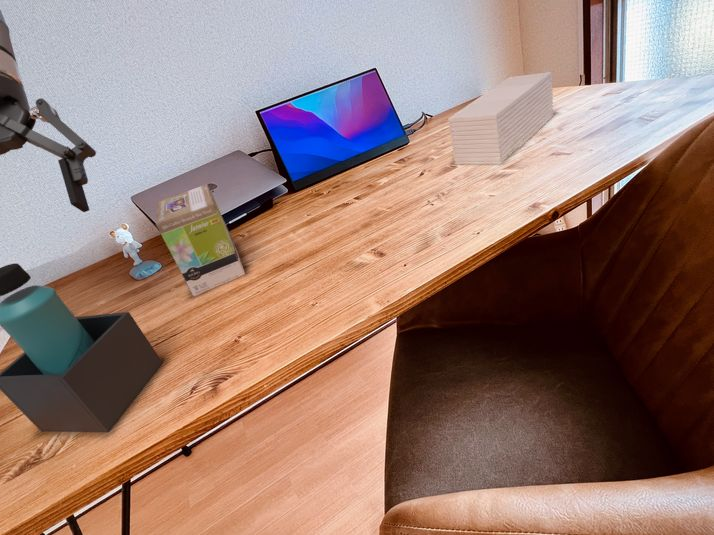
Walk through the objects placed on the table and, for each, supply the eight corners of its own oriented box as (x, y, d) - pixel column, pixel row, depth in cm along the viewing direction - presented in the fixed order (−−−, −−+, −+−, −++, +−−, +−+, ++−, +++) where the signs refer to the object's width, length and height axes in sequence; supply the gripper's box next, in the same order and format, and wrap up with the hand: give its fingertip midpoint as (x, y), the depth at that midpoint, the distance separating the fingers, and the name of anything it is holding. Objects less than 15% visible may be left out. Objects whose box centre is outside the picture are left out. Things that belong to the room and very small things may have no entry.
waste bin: (43, 434, 54) (-10, 380, 49) (104, 369, 63) (64, 317, 58) (111, 435, 50) (62, 377, 45) (165, 366, 59) (128, 311, 54)
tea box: (248, 276, 76) (213, 201, 69) (194, 299, 74) (152, 225, 67) (236, 247, 89) (206, 181, 81) (190, 266, 87) (154, 200, 79)
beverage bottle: (128, 394, 55) (30, 265, 45) (74, 425, 52) (-43, 296, 42) (123, 369, 60) (33, 248, 50) (73, 396, 57) (-31, 275, 47)
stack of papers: (511, 119, 114) (508, 77, 109) (553, 116, 108) (552, 71, 102) (455, 166, 96) (448, 118, 90) (500, 166, 89) (496, 114, 84)
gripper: (97, 79, 63) (138, 203, 58) (-79, 136, 60) (-51, 271, 55) (65, 40, 55) (108, 178, 51) (-138, 103, 52) (-111, 256, 48)
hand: (26, 227), depth 53 cm, fingers open, 13 cm apart
